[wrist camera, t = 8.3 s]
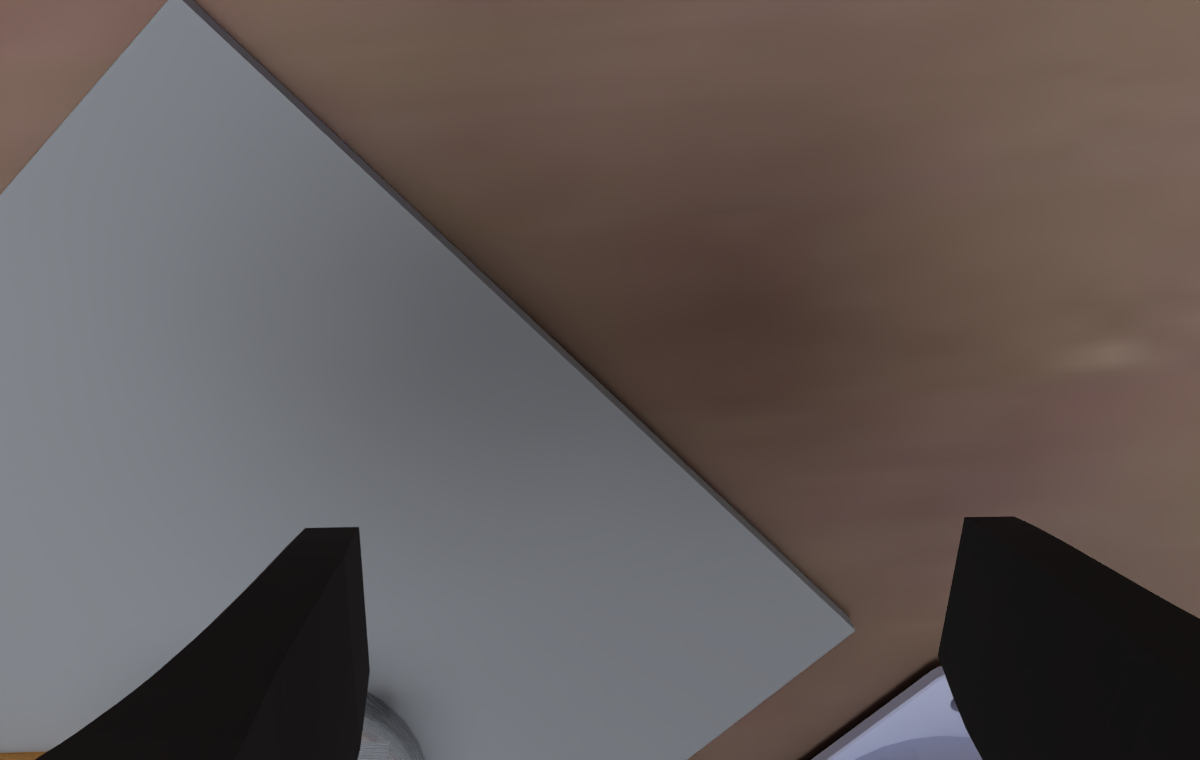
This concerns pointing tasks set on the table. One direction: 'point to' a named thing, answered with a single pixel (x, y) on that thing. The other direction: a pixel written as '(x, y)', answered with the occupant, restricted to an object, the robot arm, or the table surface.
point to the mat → (338, 443)
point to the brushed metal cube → (374, 751)
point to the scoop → (376, 728)
